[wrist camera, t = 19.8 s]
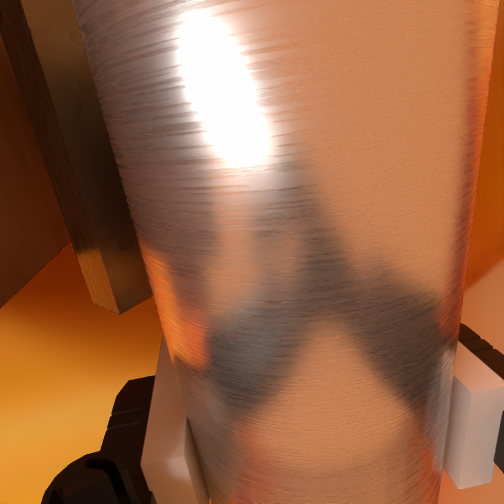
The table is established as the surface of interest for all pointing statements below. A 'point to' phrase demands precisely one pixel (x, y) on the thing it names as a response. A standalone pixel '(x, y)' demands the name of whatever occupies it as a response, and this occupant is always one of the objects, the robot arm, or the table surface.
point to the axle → (303, 226)
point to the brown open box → (23, 194)
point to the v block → (75, 147)
